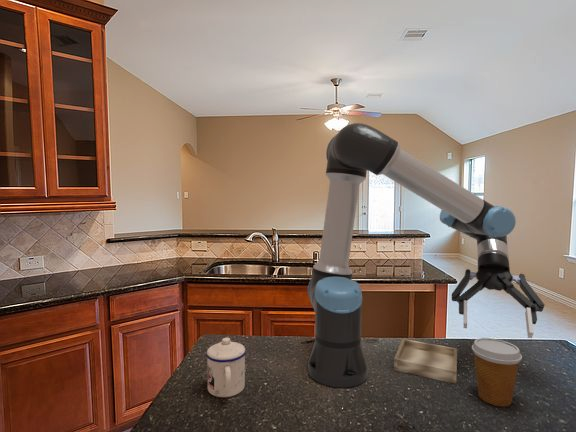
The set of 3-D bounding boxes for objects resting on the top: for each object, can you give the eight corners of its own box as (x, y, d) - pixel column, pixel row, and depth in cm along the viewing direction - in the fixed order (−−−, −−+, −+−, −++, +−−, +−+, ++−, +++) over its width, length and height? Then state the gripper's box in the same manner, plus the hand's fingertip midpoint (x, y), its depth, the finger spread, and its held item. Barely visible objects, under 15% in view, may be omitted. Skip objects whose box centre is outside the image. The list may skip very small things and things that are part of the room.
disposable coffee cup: (528, 414, 71) (530, 357, 70) (478, 408, 72) (480, 353, 72) (508, 389, 80) (510, 339, 79) (464, 384, 82) (466, 335, 81)
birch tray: (393, 370, 89) (393, 358, 88) (402, 348, 102) (402, 338, 101) (456, 384, 82) (456, 371, 82) (456, 359, 95) (457, 348, 95)
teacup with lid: (206, 380, 83) (206, 333, 83) (243, 375, 86) (243, 330, 85) (206, 409, 72) (206, 354, 71) (249, 403, 74) (249, 350, 73)
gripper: (545, 271, 92) (557, 346, 80) (444, 263, 104) (440, 328, 91) (550, 254, 87) (564, 332, 75) (443, 248, 99) (440, 315, 86)
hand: (496, 330), depth 83 cm, fingers open, 13 cm apart
